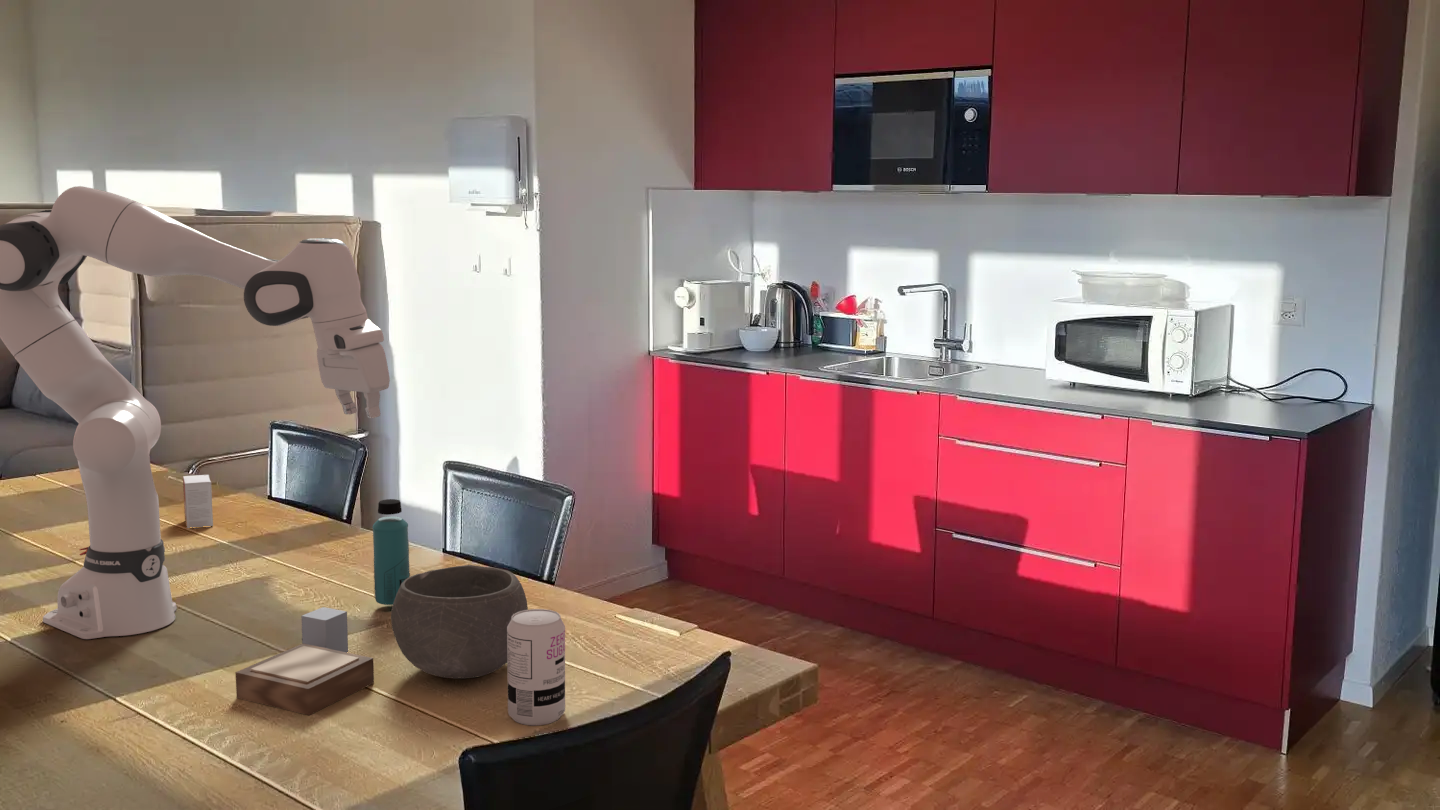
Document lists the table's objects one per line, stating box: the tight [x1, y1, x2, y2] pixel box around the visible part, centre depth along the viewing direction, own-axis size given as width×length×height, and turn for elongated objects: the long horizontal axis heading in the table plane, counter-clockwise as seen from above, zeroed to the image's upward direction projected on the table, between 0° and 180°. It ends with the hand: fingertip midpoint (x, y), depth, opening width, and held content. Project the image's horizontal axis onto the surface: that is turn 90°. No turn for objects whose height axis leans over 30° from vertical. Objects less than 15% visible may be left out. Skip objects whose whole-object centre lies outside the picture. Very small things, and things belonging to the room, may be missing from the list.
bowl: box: [390, 564, 529, 679], centre depth 200 cm, size 21×21×15 cm
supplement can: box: [506, 608, 566, 726], centre depth 183 cm, size 8×8×15 cm
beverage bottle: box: [372, 498, 411, 606], centre depth 230 cm, size 6×7×20 cm
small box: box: [182, 474, 214, 529], centre depth 285 cm, size 8×6×10 cm
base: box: [235, 643, 375, 716], centre depth 192 cm, size 14×14×4 cm
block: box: [301, 606, 349, 653], centre depth 207 cm, size 5×5×7 cm
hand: (362, 415), depth 212 cm, fingers open, 8 cm apart
